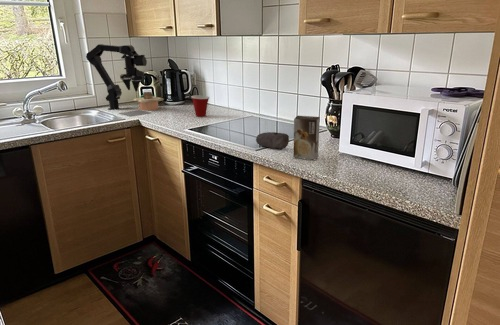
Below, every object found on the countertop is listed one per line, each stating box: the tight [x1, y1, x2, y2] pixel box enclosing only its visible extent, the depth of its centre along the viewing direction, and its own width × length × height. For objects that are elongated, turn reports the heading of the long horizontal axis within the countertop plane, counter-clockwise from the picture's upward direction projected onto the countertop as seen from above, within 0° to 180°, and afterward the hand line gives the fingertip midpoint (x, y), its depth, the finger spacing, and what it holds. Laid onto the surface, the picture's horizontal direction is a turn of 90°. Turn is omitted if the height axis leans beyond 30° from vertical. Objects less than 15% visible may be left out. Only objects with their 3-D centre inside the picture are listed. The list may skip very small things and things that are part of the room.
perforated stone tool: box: [255, 131, 290, 150], centre depth 162 cm, size 15×5×7 cm, turn 59°
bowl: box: [138, 101, 160, 111], centre depth 248 cm, size 12×12×6 cm
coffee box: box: [292, 115, 321, 160], centre depth 147 cm, size 9×6×16 cm
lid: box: [132, 91, 164, 103], centre depth 246 cm, size 14×14×5 cm
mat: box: [118, 109, 151, 118], centre depth 234 cm, size 15×15×1 cm
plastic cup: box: [190, 94, 210, 118], centre depth 226 cm, size 11×11×12 cm
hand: (132, 90), depth 244 cm, fingers open, 9 cm apart
